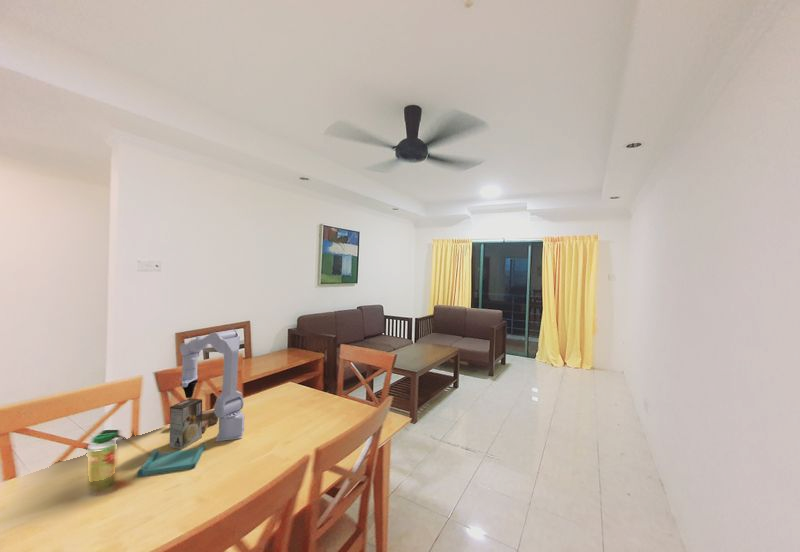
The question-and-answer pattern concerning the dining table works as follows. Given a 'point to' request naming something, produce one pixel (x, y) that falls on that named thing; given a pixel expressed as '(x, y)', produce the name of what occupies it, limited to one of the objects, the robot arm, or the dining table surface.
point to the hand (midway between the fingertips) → (189, 397)
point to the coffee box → (185, 423)
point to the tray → (171, 461)
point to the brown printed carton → (208, 419)
